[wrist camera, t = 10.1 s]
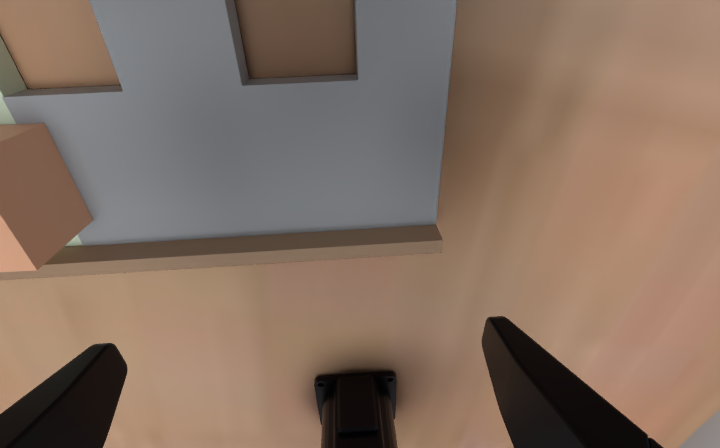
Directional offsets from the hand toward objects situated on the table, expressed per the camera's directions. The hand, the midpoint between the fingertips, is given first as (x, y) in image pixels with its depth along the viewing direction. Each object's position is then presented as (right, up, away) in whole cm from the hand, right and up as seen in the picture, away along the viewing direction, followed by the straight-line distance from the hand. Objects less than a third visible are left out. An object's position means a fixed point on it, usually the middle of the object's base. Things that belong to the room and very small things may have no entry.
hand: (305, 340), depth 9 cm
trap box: (-8, +8, +9) cm, 14 cm away
